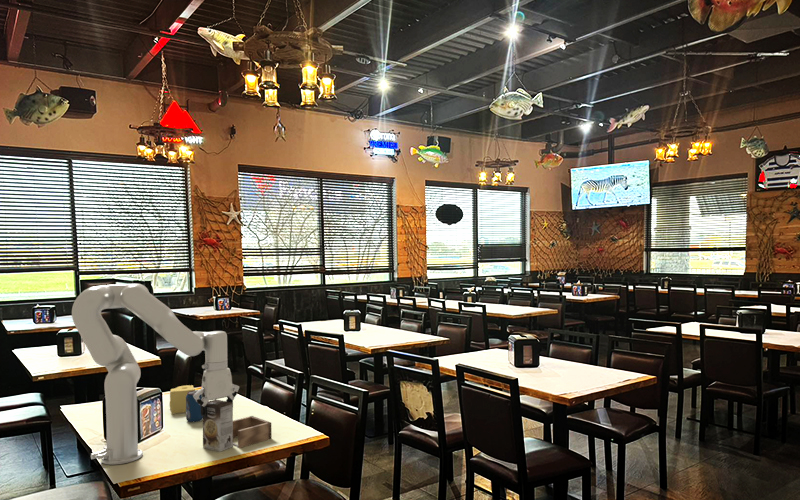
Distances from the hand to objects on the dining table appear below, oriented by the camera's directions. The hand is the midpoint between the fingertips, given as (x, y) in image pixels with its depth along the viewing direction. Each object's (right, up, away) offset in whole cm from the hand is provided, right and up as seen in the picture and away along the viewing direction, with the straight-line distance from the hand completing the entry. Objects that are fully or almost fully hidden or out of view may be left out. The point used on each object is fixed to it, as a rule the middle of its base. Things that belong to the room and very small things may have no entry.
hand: (217, 413), depth 196 cm
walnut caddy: (+8, -12, +8) cm, 17 cm away
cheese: (-32, -14, +50) cm, 61 cm away
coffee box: (0, -12, 0) cm, 12 cm away
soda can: (-20, -13, +33) cm, 41 cm away
